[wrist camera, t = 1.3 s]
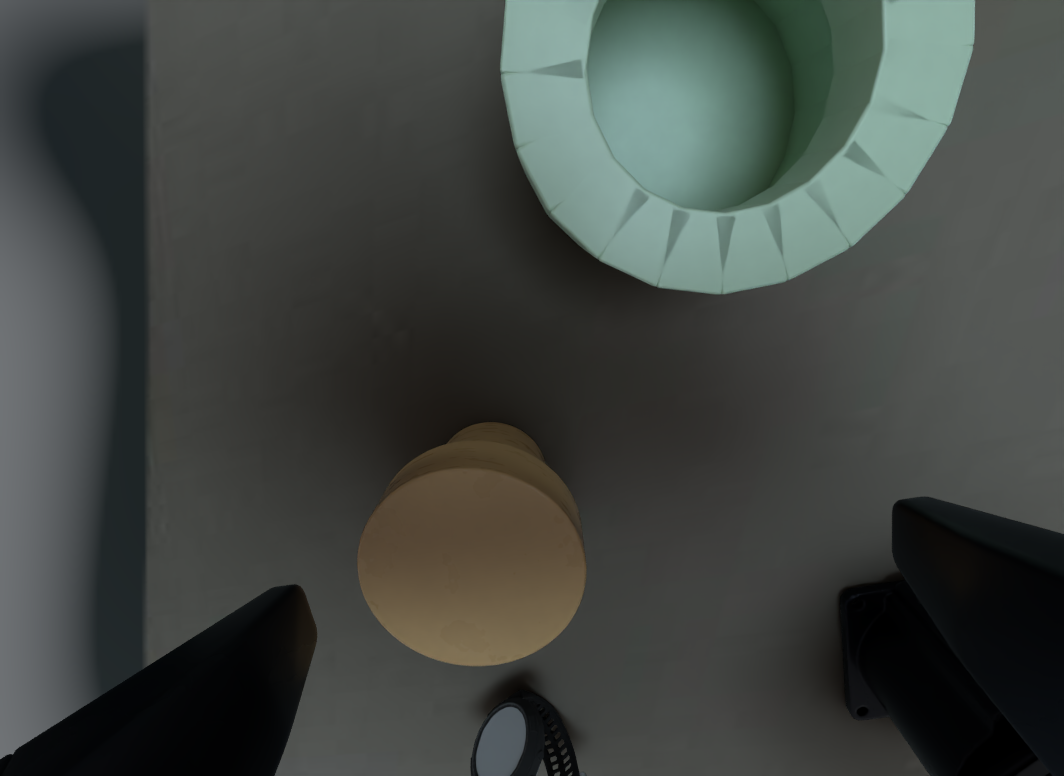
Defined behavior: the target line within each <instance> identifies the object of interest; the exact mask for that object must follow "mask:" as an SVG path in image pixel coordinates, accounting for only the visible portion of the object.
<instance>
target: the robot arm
mask: <svg viewBox="0 0 1064 776" xmlns="http://www.w3.org/2000/svg"><path fill="white" fill-rule="evenodd" d="M892 553H893V558H894V561H895V563H896V565H897V567H898V569H899V570H900V572H901V573H902V575H903V576H904V578H905V579H906V580H903V581H897V582H890V583H884V584H877V585H871V586H864V587H858V588H852V589H848V590H846V591H845V592H844V593H843V594H842V595H841V598H840V609H841V627H842V645H843V663H844V681H845V699H846V707H847V709H848V711H849V713H850V714H851V716H852V717H853V718H854V719H856V720H869V719H876V718H884V717H890V718H891V720H892V721H893V723H894V724H895V725H896V727H897V728H898V730H899V731H900V733H901V734H902V736H903V737H904V738H905V740H906V741H907V743H908V744H909V746H910V747H911V749H912V750H913V751H914V753H915V754H916V756H917V757H918V759H919V760H920V762H921V763H922V764H923V766H924V767H925V769H926V770H927V772H928V773H929V775H930V776H1064V534H1061V533H1058V532H1054V531H1051V530H1047V529H1043V528H1040V527H1036V526H1032V525H1029V524H1025V523H1022V522H1018V521H1014V520H1011V519H1007V518H1003V517H1000V516H996V515H993V514H989V513H985V512H982V511H978V510H974V509H971V508H967V507H964V506H960V505H956V504H953V503H949V502H945V501H942V500H938V499H935V498H931V497H916V498H909V499H902V500H898V501H897V502H896V503H895V504H894V506H893V510H892ZM855 600H858V601H857V602H856V603H854V604H852V603H853V602H854V601H855ZM316 642H317V628H316V624H315V622H314V619H313V616H312V613H311V610H310V607H309V604H308V601H307V598H306V595H305V593H304V591H303V589H302V588H301V587H300V586H298V585H296V584H294V585H286V586H279V587H274V588H271V589H269V590H267V591H266V592H264V593H263V594H261V595H260V596H258V597H256V598H255V599H253V600H252V601H250V602H249V603H247V604H245V605H244V606H242V607H241V608H239V609H237V610H236V611H234V612H233V613H231V614H230V615H228V616H226V617H225V618H223V619H222V620H220V621H218V622H217V623H215V624H214V625H212V626H211V627H209V628H207V629H206V630H204V631H203V632H201V633H200V634H198V635H196V636H195V637H193V638H192V639H190V640H188V641H187V642H185V643H184V644H182V645H181V646H179V647H177V648H176V649H174V650H173V651H171V652H169V653H168V654H166V655H165V656H163V657H162V658H160V659H158V660H157V661H155V662H154V663H152V664H150V665H149V666H147V667H146V668H144V669H143V670H141V671H139V672H138V673H136V674H135V675H133V676H132V677H130V678H129V679H127V680H125V681H124V682H122V683H121V684H119V685H117V686H116V687H114V688H113V689H111V690H109V691H108V692H107V693H105V694H103V695H102V696H100V697H98V698H97V699H95V700H94V701H92V702H90V703H89V704H87V705H86V706H84V707H83V708H81V709H79V710H78V711H76V712H75V713H73V714H71V715H70V716H68V717H67V718H65V719H64V720H62V721H60V722H59V723H57V724H56V725H54V726H53V727H51V728H49V729H48V730H46V731H45V732H43V733H41V734H40V735H38V736H37V737H35V738H34V739H32V740H30V741H29V742H27V743H26V744H24V745H22V746H21V747H19V748H18V749H17V750H16V751H15V752H14V754H13V755H12V754H9V755H6V756H5V757H3V758H2V759H0V776H274V775H275V773H276V770H277V768H278V765H279V763H280V760H281V757H282V755H283V752H284V749H285V747H286V744H287V741H288V738H289V735H290V732H291V729H292V726H293V722H294V719H295V715H296V712H297V709H298V705H299V702H300V698H301V695H302V691H303V688H304V684H305V681H306V677H307V674H308V671H309V667H310V664H311V660H312V657H313V653H314V650H315V646H316Z"/></svg>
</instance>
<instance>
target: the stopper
mask: <svg viewBox="0 0 1064 776" xmlns="http://www.w3.org/2000/svg"><path fill="white" fill-rule="evenodd" d="M357 568H358V576H359V581H360V585H361V589H362V592H363V595H364V597H365V599H366V602H367V604H368V606H369V607H370V609H371V611H372V612H373V614H374V616H375V617H376V618H377V619H378V621H379V622H380V623H381V624H382V626H383V627H384V628H385V629H386V630H387V631H388V632H389V633H390V634H391V635H393V636H394V637H395V638H396V639H398V640H399V641H400V642H402V643H403V644H404V645H406V646H408V647H409V648H411V649H413V650H414V651H416V652H418V653H421V654H423V655H425V656H427V657H430V658H433V659H436V660H438V661H442V662H446V663H451V664H455V665H464V666H490V665H498V664H503V663H508V662H512V661H515V660H518V659H521V658H524V657H526V656H528V655H530V654H532V653H534V652H536V651H538V650H540V649H541V648H543V647H544V646H546V645H547V644H549V643H550V642H551V641H552V640H554V639H555V638H556V637H557V636H558V635H559V634H560V633H561V632H562V631H563V630H564V629H565V628H566V626H567V625H568V624H569V622H570V621H571V619H572V618H573V617H574V615H575V613H576V611H577V609H578V607H579V605H580V602H581V600H582V597H583V594H584V589H585V584H586V568H587V567H586V558H585V550H584V541H583V533H582V525H581V518H580V515H579V511H578V507H577V505H576V503H575V500H574V498H573V496H572V494H571V493H570V491H569V489H568V488H567V486H566V485H565V483H564V482H563V481H562V480H561V479H560V477H559V476H558V475H557V474H556V473H555V472H554V471H553V470H552V469H551V468H549V467H548V466H547V465H546V464H545V460H544V457H543V455H542V452H541V450H540V449H539V447H538V446H537V444H536V443H535V442H534V441H533V440H532V439H531V438H530V437H529V436H528V435H527V434H525V433H524V432H523V431H521V430H519V429H517V428H516V427H513V426H510V425H507V424H503V423H497V422H484V423H478V424H474V425H471V426H469V427H466V428H464V429H463V430H461V431H459V432H458V433H457V434H455V435H454V436H453V437H452V438H451V439H450V440H449V442H448V443H447V444H445V445H441V446H439V447H436V448H434V449H431V450H428V451H427V452H425V453H423V454H421V455H419V456H418V457H416V458H415V459H413V460H412V461H411V462H409V463H408V464H407V465H405V466H404V467H403V468H402V469H401V470H400V471H399V472H398V473H397V474H396V476H395V477H394V478H393V480H392V481H391V482H390V484H389V485H388V487H387V489H386V490H385V492H384V494H383V496H382V497H381V499H380V501H379V502H378V504H377V506H376V507H375V509H374V511H373V513H372V514H371V516H370V518H369V520H368V522H367V523H366V525H365V527H364V530H363V533H362V536H361V538H360V543H359V548H358V557H357Z"/></svg>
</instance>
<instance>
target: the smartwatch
mask: <svg viewBox="0 0 1064 776" xmlns="http://www.w3.org/2000/svg"><path fill="white" fill-rule="evenodd" d="M537 704H538V705H537ZM542 708H544V709H543V710H542V711H541V712H538V711H539V710H540V709H542ZM546 713H549V715H548V716H547V717H543V716H544V715H545V714H546ZM551 719H553V720H554V721H553V722H552V723H551V724H550V725H549V724H548V722H549V721H550V720H551ZM554 725H557V728H556V730H555V731H554V732H553V731H551V728H552V727H553V726H554ZM558 732H560V733H561V736H560V737H559V738H558V739H555V735H556V734H557V733H558ZM544 733H545V734H548V736H545V734H544ZM562 739H563V740H564V744H563V745H562V746H561V747H558V742H560V741H561V740H562ZM548 740H549V741H551V744H549V745H546V746H545V742H546V741H548ZM550 748H553V749H554V752H552V753H550V754H549V752H548V750H547V749H550ZM565 748H567V752H566V753H565V754H564V755H561V752H562V751H563V750H564V749H565ZM568 755H569V756H570V759H569V760H568V761H567V762H566V763H565V764H564V761H563V760H564V759H565V758H566V757H567V756H568ZM553 756H556V757H557V760H556V761H554V762H552V763H551V761H550V758H551V757H553ZM542 759H543V760H544V763H545V766H546V770H547V773H548V776H554V774H555V773H557V772H559V771H560V776H568V775H569V774H570V773H571V772H572V771H573V772H572V775H571V776H586V774H585V773H584V772H581V773H579V769H578V765H577V760H576V756H575V752H574V749H573V745H572V743H571V740H570V738H569V735H568V733H567V730H566V728H565V726H564V724H563V722H562V720H561V718H560V717H559V715H558V713H557V712H556V711H555V709H554V708H553V707H552V706H551V705H550V704H549V703H548V702H547V701H545V700H544V699H542V698H541V697H539V696H537V695H535V694H533V693H531V692H528V691H525V690H519V691H518V692H516V693H514V694H513V695H512V696H510V697H509V698H508V699H506V700H504V701H503V702H501V703H499V704H498V705H497V706H496V707H495V708H494V709H493V710H492V711H491V712H490V713H489V714H488V716H487V718H486V720H485V721H484V722H483V724H482V726H481V728H480V730H479V732H478V735H477V738H476V740H475V744H474V748H473V753H472V758H471V776H536V774H537V772H538V770H539V767H540V764H541V761H542ZM570 763H571V767H570V768H569V769H568V770H567V771H566V772H565V768H566V767H567V766H568V765H569V764H570ZM555 764H559V765H558V769H555V770H553V765H555Z"/></svg>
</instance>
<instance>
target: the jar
mask: <svg viewBox="0 0 1064 776" xmlns="http://www.w3.org/2000/svg"><path fill="white" fill-rule="evenodd" d="M974 29H975V0H506V1H505V13H504V25H503V37H502V49H501V61H500V73H501V83H502V88H503V93H504V98H505V103H506V108H507V113H508V118H509V123H510V128H511V133H512V138H513V143H514V147H515V149H516V151H517V155H518V157H519V160H520V163H521V165H522V167H523V169H524V172H525V174H526V176H527V178H528V180H529V182H530V184H531V186H532V188H533V189H534V191H535V193H536V195H537V197H538V199H539V201H540V203H541V204H542V206H543V208H544V210H545V212H546V214H547V215H548V216H549V217H550V218H551V219H552V220H553V221H554V222H555V223H556V224H557V225H558V226H559V227H560V228H561V229H562V230H563V231H564V232H565V233H566V234H567V235H568V236H569V237H570V238H571V239H572V240H574V241H575V242H576V243H577V244H578V245H579V246H580V247H582V248H583V249H584V250H585V251H587V252H588V253H590V254H591V255H592V256H593V257H595V258H597V259H598V260H599V261H601V262H603V263H605V264H607V265H609V266H611V267H613V268H616V269H618V270H620V271H622V272H624V273H626V274H628V275H630V276H632V277H635V278H637V279H639V280H641V281H643V282H645V283H647V284H649V285H652V286H656V287H658V288H664V289H672V290H681V291H690V292H698V293H707V294H716V295H719V294H729V293H734V292H739V291H744V290H749V289H754V288H759V287H764V286H769V285H774V284H779V283H784V282H786V281H787V280H791V279H793V278H795V277H797V276H799V275H801V274H802V273H804V272H806V271H808V270H810V269H812V268H814V267H816V266H818V265H819V264H821V263H823V262H825V261H827V260H829V259H831V258H833V257H835V256H836V255H838V254H840V253H842V252H844V251H846V250H847V249H848V248H849V247H851V246H853V245H854V244H856V243H857V242H858V241H859V240H860V239H861V238H862V237H863V236H864V235H865V234H866V233H867V232H868V231H869V230H870V229H871V228H872V227H874V226H875V225H876V224H877V223H878V222H879V221H880V220H881V219H882V218H883V217H884V216H885V215H886V214H887V213H888V212H889V211H890V210H892V209H893V208H894V207H895V206H896V205H897V204H898V203H899V202H900V201H901V200H902V199H903V198H904V197H905V194H906V193H907V192H909V190H910V189H911V187H912V185H913V184H914V182H915V181H916V179H917V177H918V176H919V174H920V172H921V171H922V169H923V168H924V166H925V164H926V163H927V161H928V159H929V158H930V156H931V155H932V153H933V151H934V150H935V148H936V147H937V145H938V143H939V142H940V140H941V138H942V137H943V135H944V134H945V132H946V130H947V126H949V125H950V123H951V121H952V117H953V114H954V111H955V107H956V104H957V101H958V97H959V94H960V91H961V88H962V84H963V81H964V78H965V74H966V71H967V68H968V64H969V61H970V58H971V55H972V51H973V46H972V45H973V44H974Z"/></svg>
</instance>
